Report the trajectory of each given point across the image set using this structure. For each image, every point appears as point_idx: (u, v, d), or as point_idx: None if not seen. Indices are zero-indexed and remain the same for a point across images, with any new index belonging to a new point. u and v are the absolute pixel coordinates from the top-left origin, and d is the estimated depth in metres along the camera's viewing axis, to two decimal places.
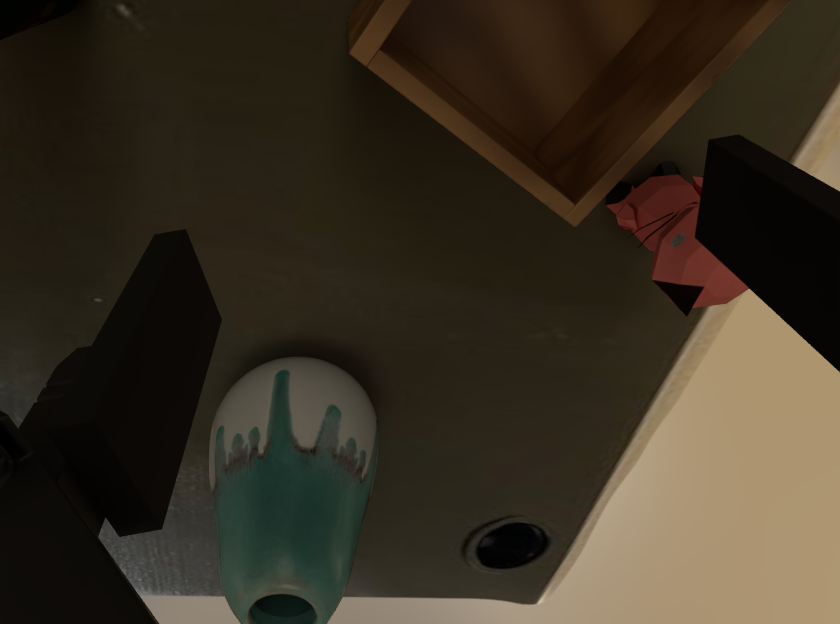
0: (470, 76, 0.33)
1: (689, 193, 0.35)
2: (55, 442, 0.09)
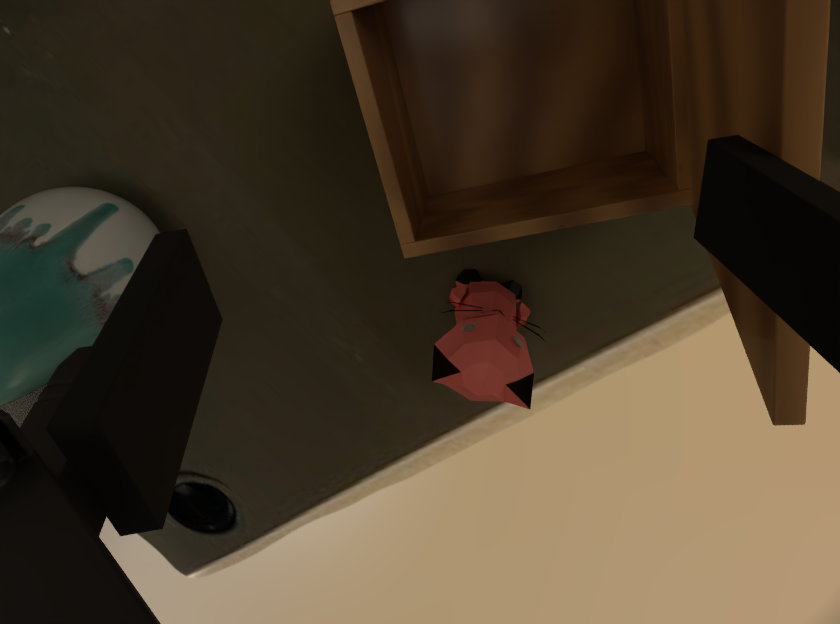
0: (422, 104, 0.38)
1: (509, 310, 0.40)
2: (56, 441, 0.09)
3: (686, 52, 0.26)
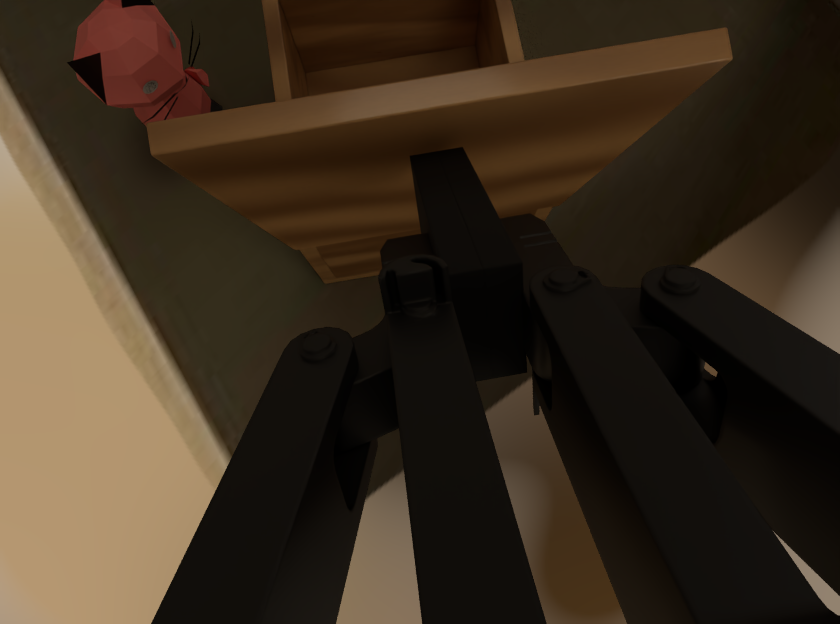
0: (391, 72, 0.41)
1: (179, 117, 0.37)
2: None
3: None
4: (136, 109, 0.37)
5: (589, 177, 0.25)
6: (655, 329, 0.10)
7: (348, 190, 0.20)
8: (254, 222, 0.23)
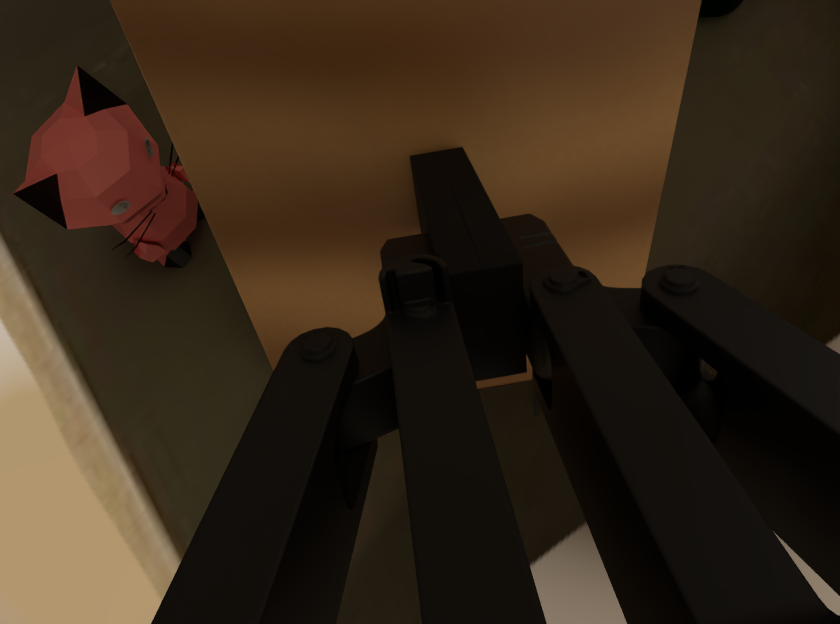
0: None
1: (158, 227, 0.31)
2: None
3: None
4: None
5: (644, 253, 0.20)
6: (656, 329, 0.10)
7: (338, 186, 0.17)
8: (232, 273, 0.19)
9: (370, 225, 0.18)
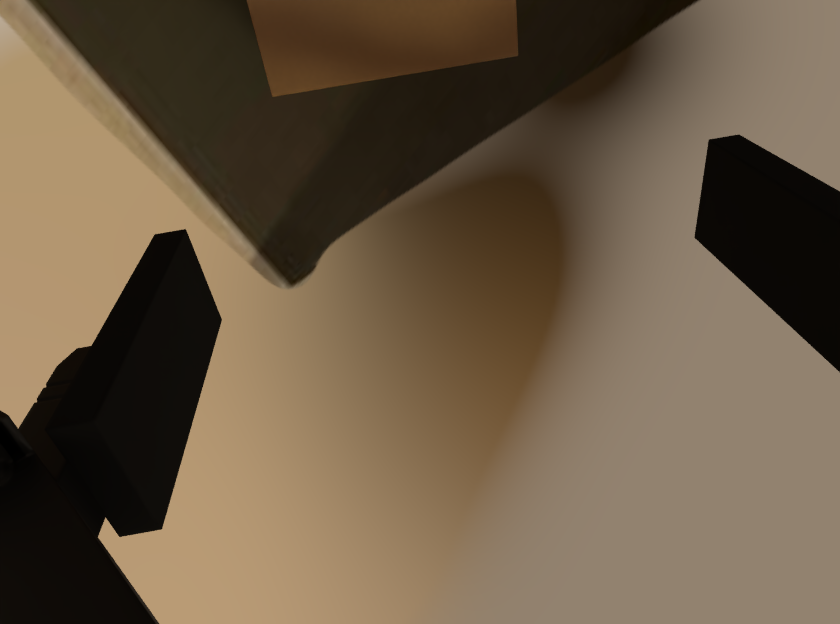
0: None
1: None
2: (55, 442, 0.09)
3: None
4: None
5: None
6: None
7: None
8: None
9: None
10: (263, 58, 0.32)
